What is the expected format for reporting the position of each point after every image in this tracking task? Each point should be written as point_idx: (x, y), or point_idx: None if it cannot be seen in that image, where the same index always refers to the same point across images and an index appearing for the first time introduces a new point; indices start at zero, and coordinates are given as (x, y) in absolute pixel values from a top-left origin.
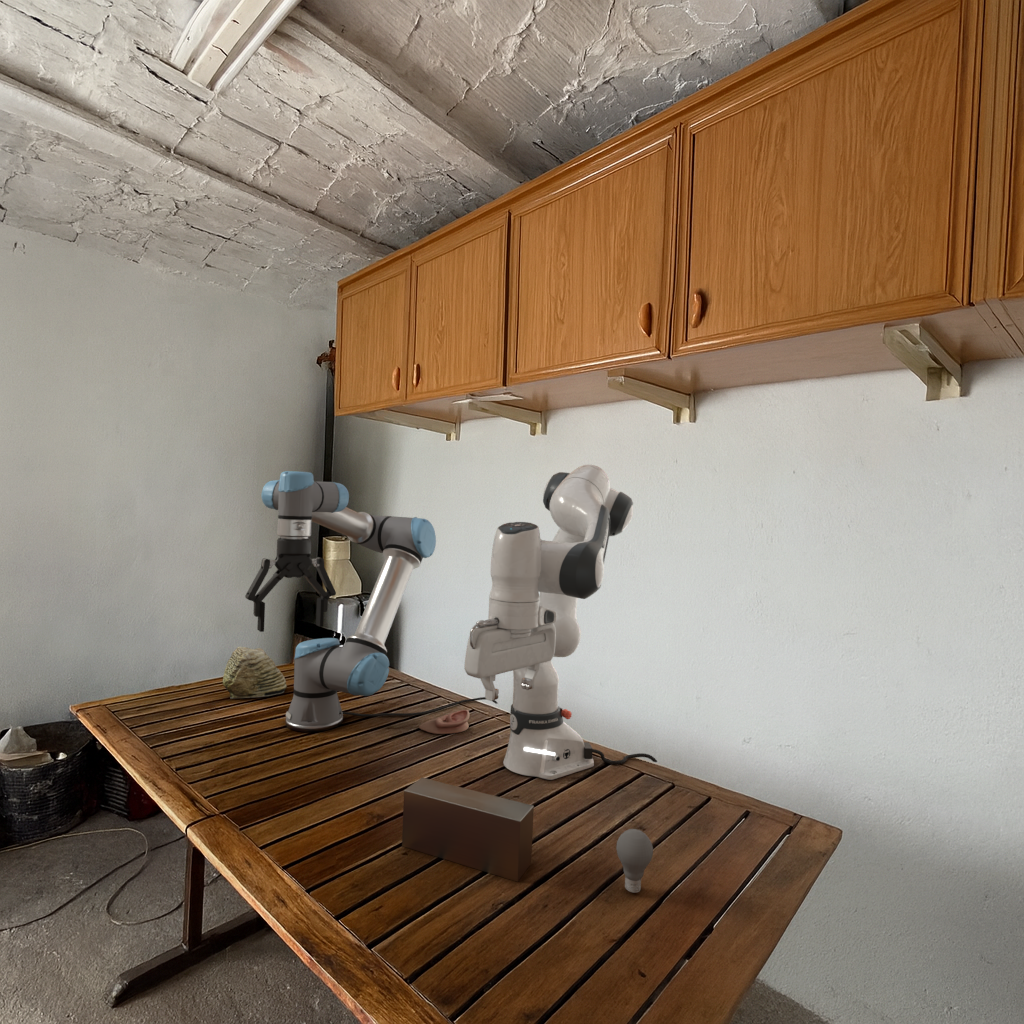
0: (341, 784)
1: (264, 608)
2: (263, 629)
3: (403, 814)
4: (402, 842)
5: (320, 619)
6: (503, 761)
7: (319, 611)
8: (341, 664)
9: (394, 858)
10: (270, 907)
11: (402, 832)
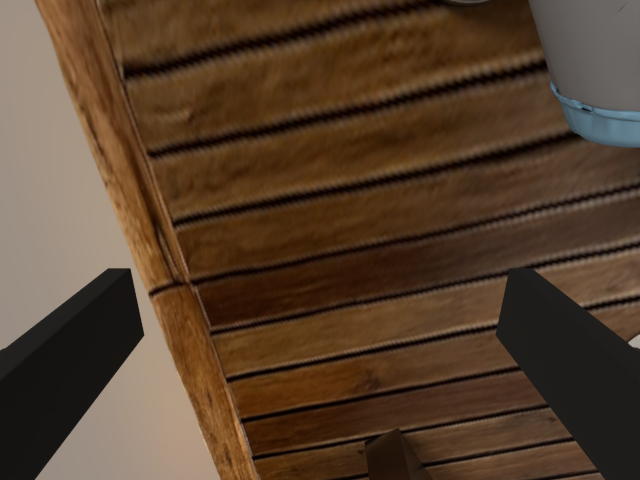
0: (373, 283)
1: (35, 472)
2: (134, 343)
3: (369, 477)
4: (365, 446)
5: (522, 369)
6: (631, 340)
7: (561, 394)
8: (602, 41)
9: (346, 453)
10: (217, 462)
11: (366, 456)
